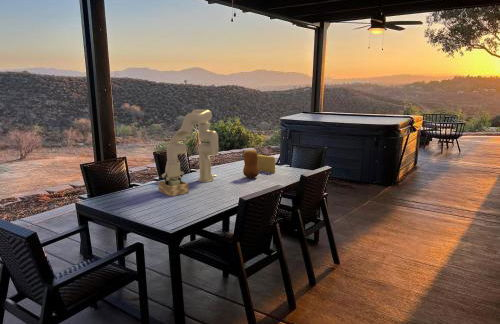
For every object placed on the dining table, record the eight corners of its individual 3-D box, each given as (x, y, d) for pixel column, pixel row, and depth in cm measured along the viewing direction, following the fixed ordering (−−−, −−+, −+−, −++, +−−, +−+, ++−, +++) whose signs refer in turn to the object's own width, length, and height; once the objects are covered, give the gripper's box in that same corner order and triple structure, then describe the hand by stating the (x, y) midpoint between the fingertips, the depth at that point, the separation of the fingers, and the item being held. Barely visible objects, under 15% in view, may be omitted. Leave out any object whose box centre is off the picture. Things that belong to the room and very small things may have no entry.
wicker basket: (176, 187, 273) (176, 178, 272) (188, 193, 259) (188, 183, 257) (158, 190, 264) (158, 181, 263) (169, 196, 250) (169, 187, 248)
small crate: (174, 188, 267) (173, 178, 265) (180, 191, 259) (180, 180, 258) (166, 189, 263) (166, 179, 262) (172, 192, 256) (172, 181, 254)
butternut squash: (252, 175, 315) (252, 147, 310) (262, 178, 305) (262, 149, 300) (239, 177, 307) (239, 149, 302) (249, 180, 296) (249, 151, 292)
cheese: (278, 172, 328) (278, 156, 326) (271, 174, 322) (271, 157, 319) (260, 168, 344) (260, 153, 341) (253, 170, 337) (253, 154, 334)
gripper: (180, 159, 265) (181, 181, 269) (159, 162, 255) (160, 185, 258) (185, 161, 260) (186, 183, 263) (163, 164, 249) (164, 187, 252)
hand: (173, 184), depth 261 cm, fingers open, 9 cm apart
